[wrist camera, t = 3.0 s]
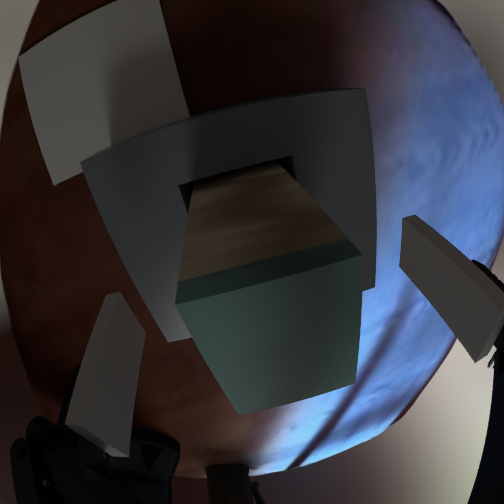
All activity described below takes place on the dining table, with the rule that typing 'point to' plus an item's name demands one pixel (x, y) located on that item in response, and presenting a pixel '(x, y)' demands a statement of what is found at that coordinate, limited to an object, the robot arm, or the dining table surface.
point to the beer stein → (231, 485)
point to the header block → (225, 159)
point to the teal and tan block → (269, 288)
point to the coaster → (101, 83)
